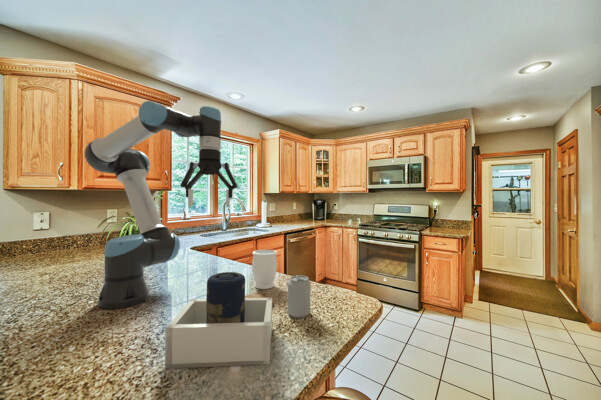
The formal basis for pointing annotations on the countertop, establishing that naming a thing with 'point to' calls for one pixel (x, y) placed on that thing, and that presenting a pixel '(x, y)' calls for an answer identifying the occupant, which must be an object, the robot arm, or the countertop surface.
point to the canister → (225, 298)
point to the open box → (219, 337)
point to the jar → (264, 268)
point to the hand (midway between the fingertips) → (209, 206)
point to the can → (299, 296)
